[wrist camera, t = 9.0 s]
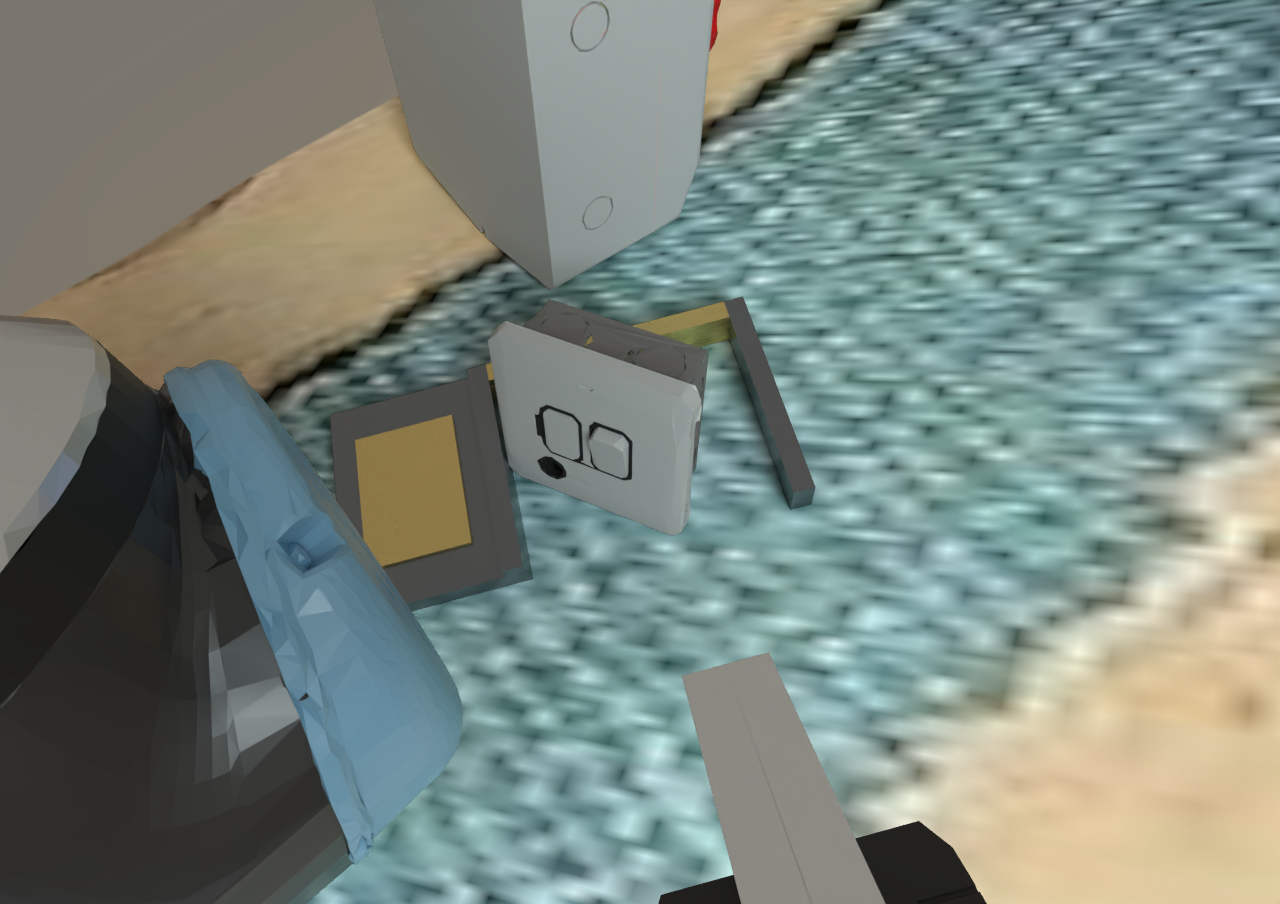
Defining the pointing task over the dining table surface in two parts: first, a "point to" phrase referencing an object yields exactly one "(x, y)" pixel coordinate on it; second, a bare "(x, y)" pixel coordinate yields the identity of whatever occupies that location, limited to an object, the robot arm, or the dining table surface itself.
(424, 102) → the electrical switch box
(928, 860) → the robot arm
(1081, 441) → the dining table surface
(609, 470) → the electrical switch
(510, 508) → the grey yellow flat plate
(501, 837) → the dining table surface
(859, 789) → the dining table surface
